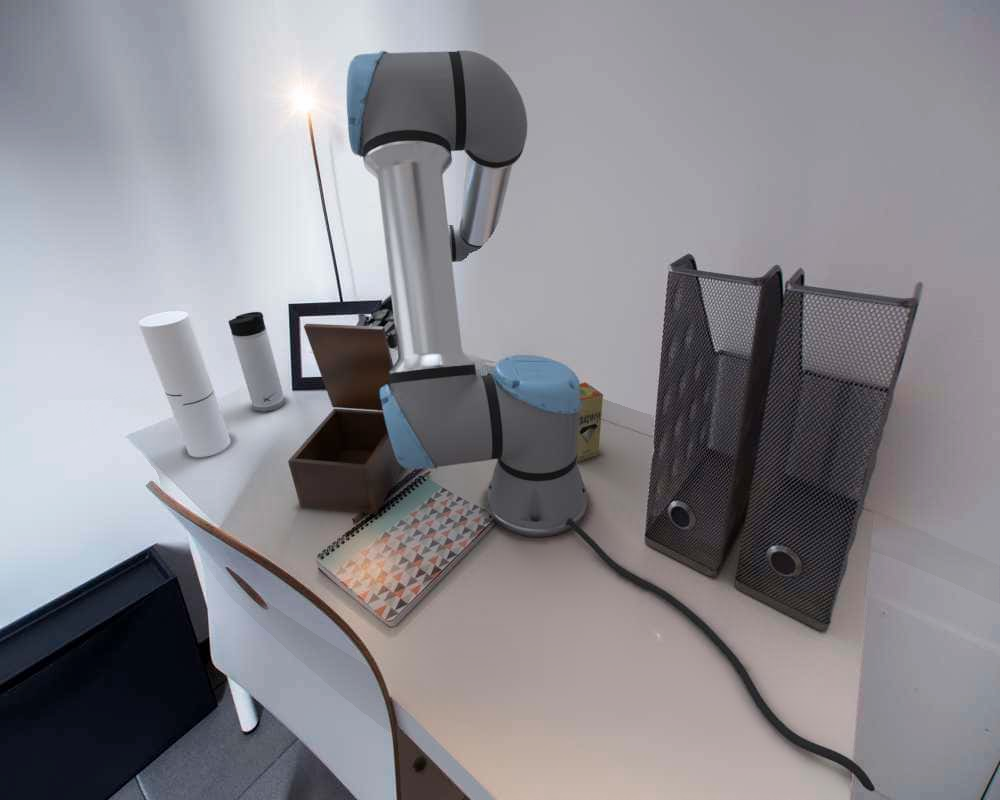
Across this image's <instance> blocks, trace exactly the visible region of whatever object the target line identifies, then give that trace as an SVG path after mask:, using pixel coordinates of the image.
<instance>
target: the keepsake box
mask: <svg viewBox="0 0 1000 800" xmlns="http://www.w3.org/2000/svg"><path fill="white" fill-rule="evenodd" d="M287 463H288V466H289V470H290V475H291V477H292V482H293V485H294V489H295V492H296V495H297V499H298V503H299V507H300V508H307V509H317V510H325V511H337V512H348V513H356V514H366V515H374V516H375V515H378V513H379V511H380V509H381V508H382V506H383V504H384V503H385V501H386V499H387V497H388V496H389V493H390V492H391V490H392V488H393V486H394V484H395V483H396V481H397V479H398V477H399V475H400V474H401V471H402V470H403V468H404V467H402V466H401V465H400V464H399V462H398V461H397V459H396V456H395V453H394V450H393V447H392V444H391V441H390V437H389V434H388V430H387V426H386V422H385V418H384V414H383V411H380V410H365V409H351V408H333V409H332V410H331V412H329V414H328V415H327V416H325V418H324V419H323V420H322V422H321V423H320V424H319V425H318V426H317V427H316V429H315V430H313V432H312V433H311V434H310V435H309V437H307V438H306V440H305V441H304V442H303V443H302V444H301V446H300V447H299V448H298V449H297V450H296V451H295V453H293V455H292V456H291V457H290V458H289V459H288V460H287Z"/></svg>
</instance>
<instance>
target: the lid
mask: <svg viewBox="0 0 1000 800" xmlns="http://www.w3.org/2000/svg"><path fill="white" fill-rule="evenodd" d="M303 329H304V332H305V334H306V337H307V340H308V342H309V345H310V348H311V351H312V354H313V356H314V360H315V363H316V365H317V368H318V370H319V373H320V376H321V378H322V382H323V384H324V387H325V390H326V392H327V395H328V398H329V401H330V403H331V406H332V408H335V409H350V410H365V411H379V412H383V409H382V402H381V399H380V389H381V387H383V386H385V385H389V386H390V379H389V371H390V369H391V368H392V367H393V366H394V362H393V359H392V354H391V350H390V348H389V345H388V341H387V337H386V333H385V329H384V327H377V326H371V325H370V326H356V325H351V324H349V325H348V324H325V323H305V324H304V326H303Z"/></svg>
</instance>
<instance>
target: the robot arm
mask: <svg viewBox="0 0 1000 800" xmlns="http://www.w3.org/2000/svg"><path fill="white" fill-rule="evenodd" d="M524 103H525V102H524V101H523V98H522V95H521V93H520V91H519V89H518V87H517V86H516V84H515V83H514V81H513V79H512V77H510V75H509V74H508V73H507V71H506V70H504V69H503V67H502V66H500V64H498V63H497V62H495V61H494V60H492V59H491V58H490V57H488V56H486V55H484V54H483V53H479V52H476V51H471V50H456V51H448V50H447V51H446V50H445V51H408V52H407V51H406V52H403V51H402V52H401V51H400V52H389V51H388V50H380V51H379V52H369V53H368V52H367V53H359V54H357V55H355V56H354V57H353V58H352V59H351V60H350V62H349V64H348V69H347V76H346V115H347V132H348V139H349V145H350V146H349V147H350V149H351V152H352V153H353V154H354V155H355V156H359V157H360V158H362V159H363V166H364V168H365V170H366V171H367V172H369V174H371V175H372V176H373V177H374V178H376V180H377V186H378V193H379V203H380V209H381V210H380V211H381V220H382V226H383V228H382V229H383V235H384V236H383V237H384V244H385V253H386V261H387V262H386V263H387V270H388V279H389V287H390V289H389V290H390V294H389V295H388V297H386V298H385V299H384V300H383V302H381V305H380V307H379V310H378V311H375V312H374V313H373V314H372V316H369V315H366V314H365V313H359V314H358V315H357V318H358V321H357V323H356V325H355V326H377V327H384V329H385V333H386V337H387V341H388V345H389V349H395V348H396V349H397V356H398V357H397V359H396V362H395V363H393V367H392V368H391V369H390V371H389V379H390V386H389V385H385V386H383V387H381V389H380V399H381V402H382V409H383V411H382V412H383V414H384V418H385V422H386V426H387V430H388V434H389V437H390V441H391V444H392V447H393V450H394V453H395V456H396V459H397V461H398V462H399V464H400V465H401V466H402V467H403V468H404V469H406V470H423V469H433V470H437V469H438V468H439V467H448V466H456V465H462V464H470V463H478V462H479V463H480V462H484V461H492V460H496V464H495V466H494V469H493V473H492V476H491V479H490V481H489V484H488V486H487V491H486V506H487V510H488V513H489V514H490V516H491V518H492V520H494V522H495V523H497V524H498V525H499V526H500V527H502V528H504V529H505V530H507V531H509V532H511V533H514V534H517V535H521V536H526V537H533V538H535V537H536V538H541V537H543V538H544V537H551V536H556V535H560V534H562V533H565V532H567V531H569V530H571V529H573V531H574V532H576V534H577V535H579V537H580V538H581V539H583V541H585V542H586V543H587V545H589V546H590V547H591V548H592V550H594V552H595V553H596V554H597V555H598V557H600V558H601V560H603V561H604V562H605V564H607V565H608V566H609V567H610V568H611V569H613V570H614V571H616V573H618V574H620V575H621V576H622V577H624V578H626V579H628V580H629V581H631V582H633V583H634V584H637V585H639V586H640V587H643V588H645V589H647V590H649V591H650V592H652V593H654V594H655V595H656V596H657V595H658V596H659V597H660V598H662V599H663V600H665V601H667V602H668V603H669V604H671V605H672V606H673V607H674V608H676V609H677V610H679V611H680V612H681V613H682V614H683V615H685V617H687V618H688V619H689V620H690V621H691V622H693V623H694V624H695V625H696V626H697V627H698V629H700V630H701V631H702V632H703V633H704V634H705V635H706V636H707V637H708V638H709V639H710V640H711V641H712V642H713V643H714V645H715V646H716V647H717V648H718V649H719V650H720V652H721V653H722V654H723V655H724V656H725V657H726V658H727V659H728V661H729V662H730V664H731V665H732V666H733V668H734V669H735V670H736V672H737V673H738V675H739V677H740V678H741V680H742V683H743V684H744V685H745V688H746V690H747V691H748V693H749V694H750V696H751V698H752V700H753V701H754V703H755V705H756V706H757V707H758V709H759V710H760V712H761V713H762V714H763V716H764V717H765V718H766V720H767V721H768V722H769V723H770V724H771V725H772V726H773V727H774V728H775V729H776V731H777V732H779V733H780V734H781V735H782V736H783V737H784V738H786V739H787V740H788V741H790V742H791V743H793V744H794V745H796V746H798V747H799V748H801V749H803V750H805V751H807V752H810V753H811V754H814V755H816V756H819V757H822V758H824V759H826V760H829V761H831V762H834V763H836V764H838V765H840V766H842V767H844V768H845V769H846V770H848V771H849V772H850V773H851V774H853V775H854V776H855V778H857V779H858V781H859V782H860V784H861V785H862V786H863V787H864V789H866V791H869V792H874V791H875V786H874V784H873V782H872V781H871V779H870V777H869V776H868V774H867V773H866V772H865V771H864V770H863V769H862V768H861V766H860V765H858V764H857V763H856V762H855V761H853V760H852V759H851V758H849V757H847V756H846V755H844V754H842V753H840V752H838V751H835V750H834V749H831V748H829V747H825V746H823V745H821V744H817V743H816V742H813V741H811V740H808V739H806V738H804V737H802V736H800V735H798V734H797V733H796V732H794V731H793V730H791V729H790V728H789V727H788V726H787V725H785V723H783V722H782V721H781V719H779V718H778V717H777V716H776V714H775V713H774V712H773V711H772V709H771V708H770V707H769V706H768V704H767V703H766V701H765V700H764V698H763V697H762V695H761V694H760V692H759V690H758V689H757V687H756V685H755V683H754V681H753V680H752V678H751V676H750V675H749V673H748V672H747V670H746V668H745V667H744V665H743V664H742V662H741V661H740V659H739V658H738V657H737V656H736V655H735V653H734V652H733V651H732V649H730V648H729V646H728V645H727V644H726V643H725V641H723V640H722V638H720V636H719V635H718V634H717V633H716V632H715V631H714V630H713V629H712V628H711V627H710V626H709V625H708V624H707V623H706V622H705V621H703V619H702V618H700V616H698V615H697V614H696V613H695V612H694V611H693V610H691V609H690V608H689V607H687V606H686V605H685V604H684V603H683V602H681V601H680V600H678V599H677V598H676V597H675V596H673V594H671V593H669V592H667V591H666V590H664V589H663V588H661V587H659V586H657V585H655V584H654V583H652V582H650V581H648V580H646V579H644V578H642V577H640V576H638V575H636V574H634V573H632V572H630V571H629V570H627V569H626V568H625V567H622V566H621V565H619V563H617V562H616V561H614V559H613V558H611V557H610V556H609V555H608V554H607V553H606V552H605V551H604V550H603V549H602V548H601V547H600V546H599V544H598V543H596V541H595V540H594V539H593V538H592V537H591V536H590V535H589V534H588V533H587V532H586V531H584V530H583V528H581V526H580V525H578V524H579V523H580V522H581V521H582V520H583V517H584V516H585V514H586V511H587V503H588V496H587V495H588V494H587V489H586V485H585V483H584V481H583V477H582V474H581V470H580V467H579V465H578V462H577V447H578V430H579V415H580V409H581V401H580V384H581V383H580V379H579V377H578V375H577V374H576V373H575V372H574V371H573V370H572V369H571V368H570V367H569V366H568V365H566V364H564V363H562V362H560V361H558V360H555V359H552V358H549V357H545V356H540V355H531V354H516V355H510V356H507V357H505V358H501V359H500V360H499V361H497V362H496V363H495V365H494V368H493V370H492V374H485V375H477V371H476V370H477V369H476V363H475V362H474V360H473V359H471V358H470V357H469V356H468V355H467V354H466V353H464V351H463V346H462V337H461V329H460V320H459V313H458V312H459V311H458V303H457V295H456V294H457V293H456V285H455V284H456V283H455V276H454V267H453V263H456V262H463V261H462V260H464V259H465V258H467V256H468V255H469V253H472V252H474V251H477V250H478V249H480V248H481V247H482V246H483V245H484V244H485V243H486V242H487V241H488V239H489V238H490V237H491V235H492V234H493V232H494V230H495V228H496V226H497V224H498V222H500V219H499V218H501V215H502V210H503V207H504V203H505V199H506V194H507V191H508V185H509V182H510V177H511V173H512V171H513V170H512V169H513V164H515V163H516V162H517V161H518V160H519V159H520V158H521V156H522V154H523V151H524V148H525V145H526V141H527V135H528V116H527V111H526V106H525V104H524ZM459 151H464V153H465V160H464V161H465V163H464V171H463V181H462V191H461V202H460V211H459V221H458V224H459V228H458V227H456V226H454V225H449V224H450V223H448V222H449V221H448V214H447V205H446V197H445V187H444V178H443V175H444V173H445V172H446V171H447V170H448V169H449V168H450V167H451V165H452V162H453V156H452V155H453V154H452V152H459Z"/></svg>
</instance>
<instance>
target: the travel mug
mask: <svg viewBox="0 0 1000 800" xmlns="http://www.w3.org/2000/svg"><path fill="white" fill-rule="evenodd" d="M264 319H265V318H264V314H263V313H262V312H261V311H252V312H251V311H250V312H246V313H242V314H238V315H236V316H235V318H232V319H229V320H228V325H229V329H230V332H231V336H232V340H233V343H234V347H235V351H236V353H237V357H238V360H239V364H240V368H241V370H242V374H243V377H244V378H243V379H244V380H245V384H246V388H247V391H248V395H249V399H250V401H251V404H252V408H253V410H255V411H257V412H262V413H263V412H267V413H268V412H271V411H275V410H277V409H279V408H281V407H282V406H284V404H285V403H286V402H285V401H286V399H285V396H284V393H283V389H282V387H283V386H282V384H281V380H280V376H279V373H278V369H277V365H276V360H275V356H274V354H273V349H272V345H271V342H270V338H269V334H268V331H267V326H266V324H265V320H264Z"/></svg>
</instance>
